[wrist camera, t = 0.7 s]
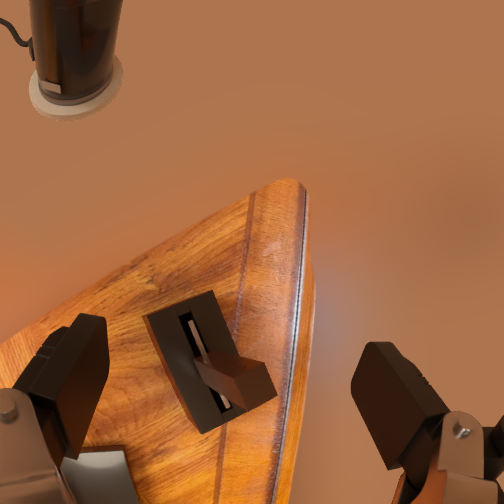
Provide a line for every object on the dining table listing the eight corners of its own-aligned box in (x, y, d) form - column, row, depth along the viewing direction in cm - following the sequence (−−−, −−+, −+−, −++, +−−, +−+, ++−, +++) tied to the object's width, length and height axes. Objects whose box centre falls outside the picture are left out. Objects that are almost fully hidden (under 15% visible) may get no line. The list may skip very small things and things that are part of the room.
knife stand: (188, 418, 28) (201, 434, 24) (141, 315, 29) (146, 315, 24) (240, 393, 31) (260, 404, 26) (198, 294, 31) (212, 289, 27)
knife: (199, 397, 29) (266, 451, 16) (167, 324, 30) (211, 328, 16) (217, 389, 30) (294, 434, 17) (185, 316, 30) (244, 313, 17)
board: (-6, 526, 15) (-9, 532, 13) (-44, 438, 17) (-50, 443, 15) (150, 531, 23) (152, 538, 22) (122, 444, 25) (123, 449, 24)
